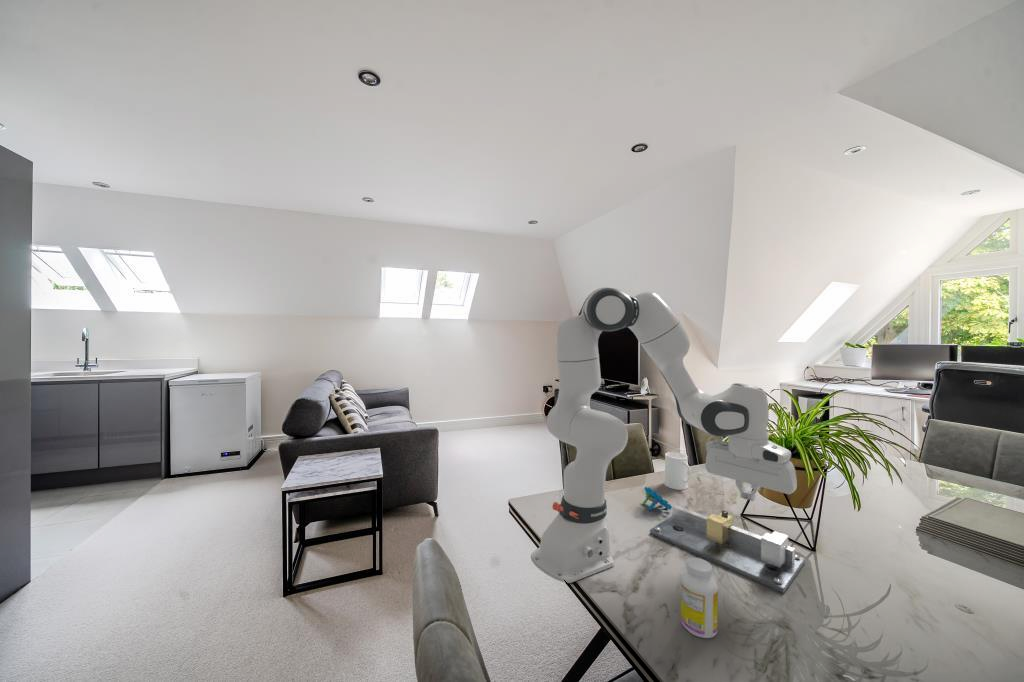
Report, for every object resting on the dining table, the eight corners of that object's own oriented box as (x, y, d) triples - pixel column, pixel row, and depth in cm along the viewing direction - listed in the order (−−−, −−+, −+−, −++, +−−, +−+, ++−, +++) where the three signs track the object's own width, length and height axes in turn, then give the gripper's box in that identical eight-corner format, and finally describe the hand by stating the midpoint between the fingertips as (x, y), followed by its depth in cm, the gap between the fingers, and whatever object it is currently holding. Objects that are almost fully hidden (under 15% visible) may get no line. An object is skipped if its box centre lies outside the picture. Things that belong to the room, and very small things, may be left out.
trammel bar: (784, 577, 89) (785, 546, 88) (661, 525, 112) (662, 501, 112) (795, 563, 94) (795, 534, 94) (675, 516, 118) (675, 494, 118)
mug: (698, 492, 139) (699, 460, 139) (679, 494, 137) (679, 462, 137) (678, 480, 151) (678, 451, 151) (659, 482, 149) (660, 452, 149)
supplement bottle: (705, 614, 78) (706, 553, 78) (724, 639, 72) (725, 574, 71) (674, 614, 78) (675, 554, 78) (690, 640, 71) (691, 574, 71)
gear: (679, 510, 121) (657, 489, 121) (668, 525, 120) (647, 504, 119) (659, 500, 132) (640, 481, 132) (649, 513, 131) (629, 494, 130)
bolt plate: (783, 593, 85) (783, 585, 85) (650, 533, 110) (650, 527, 110) (804, 562, 96) (804, 556, 96) (679, 515, 122) (679, 509, 121)
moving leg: (722, 549, 99) (722, 522, 99) (706, 543, 102) (706, 516, 102) (734, 538, 105) (734, 512, 105) (719, 532, 108) (719, 507, 108)
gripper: (701, 439, 102) (701, 489, 103) (791, 458, 86) (791, 517, 87) (711, 435, 106) (710, 483, 107) (799, 453, 90) (798, 508, 91)
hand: (747, 498), depth 97 cm, fingers closed
